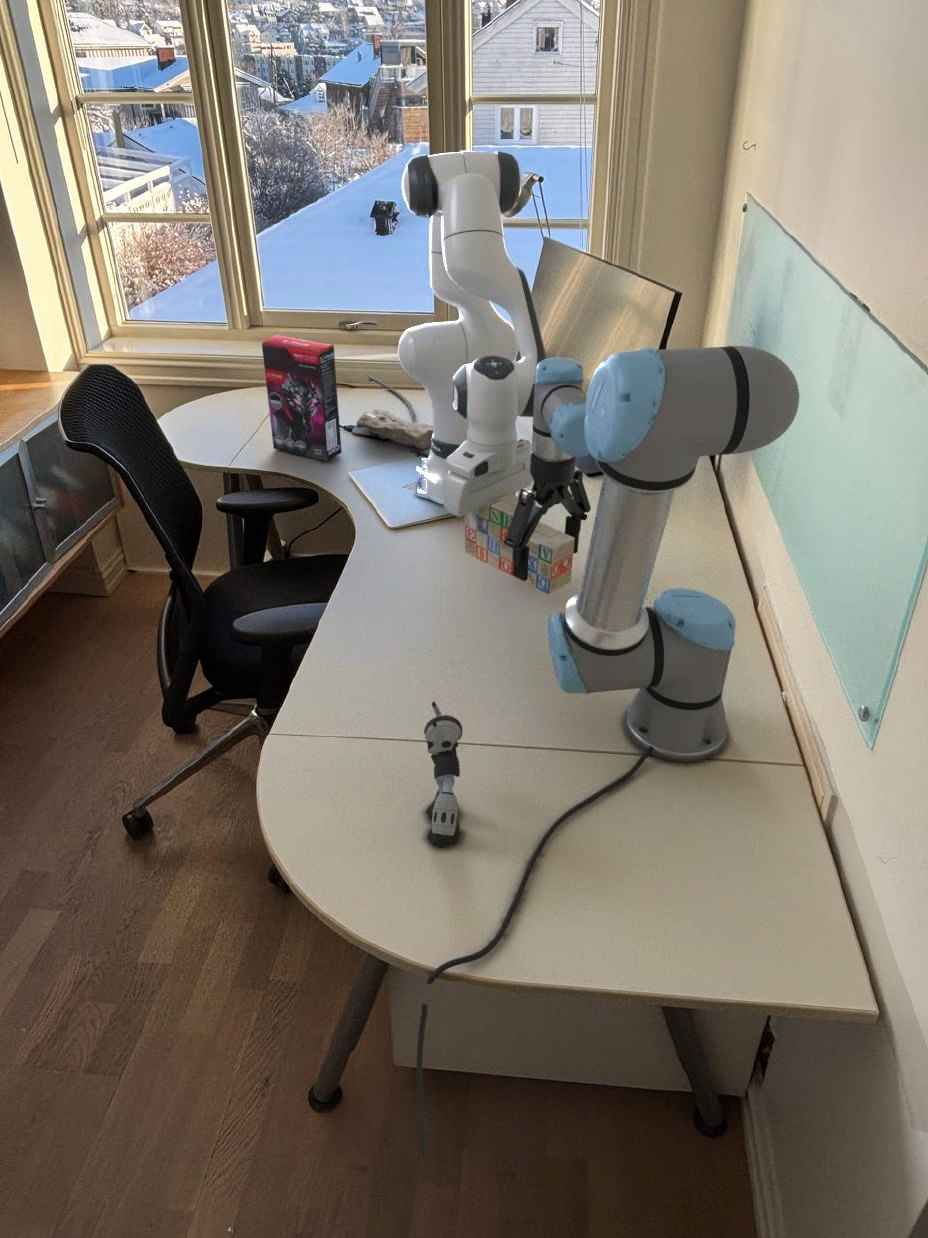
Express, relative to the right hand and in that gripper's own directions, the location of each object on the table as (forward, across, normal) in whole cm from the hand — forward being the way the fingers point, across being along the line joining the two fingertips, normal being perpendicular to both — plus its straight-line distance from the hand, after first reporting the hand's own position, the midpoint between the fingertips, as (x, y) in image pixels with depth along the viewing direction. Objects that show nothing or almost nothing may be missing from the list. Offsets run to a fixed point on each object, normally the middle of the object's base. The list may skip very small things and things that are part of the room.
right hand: (545, 563), depth 165 cm
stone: (+11, -34, -80) cm, 88 cm away
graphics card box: (+11, -12, -89) cm, 90 cm away
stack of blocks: (+4, 0, -7) cm, 8 cm away
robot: (+10, +50, +26) cm, 57 cm away
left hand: (-3, 0, -14) cm, 14 cm away
